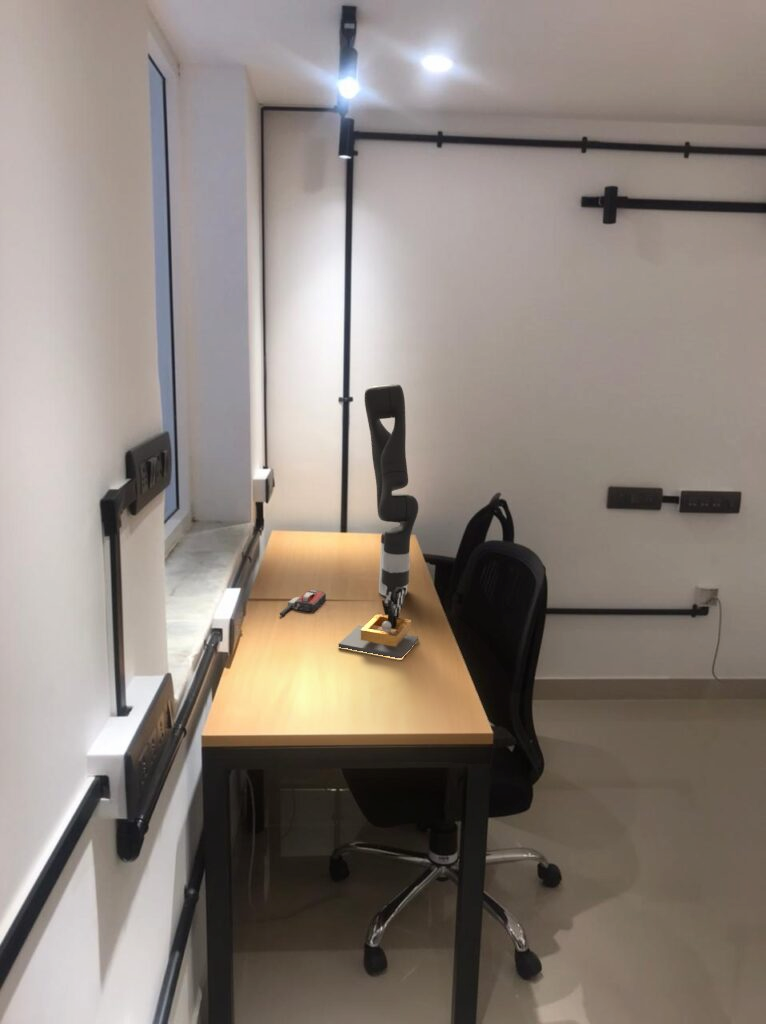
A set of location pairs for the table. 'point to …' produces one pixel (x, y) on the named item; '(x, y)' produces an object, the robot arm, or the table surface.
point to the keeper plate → (356, 643)
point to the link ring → (380, 637)
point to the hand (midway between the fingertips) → (393, 626)
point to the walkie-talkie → (306, 601)
